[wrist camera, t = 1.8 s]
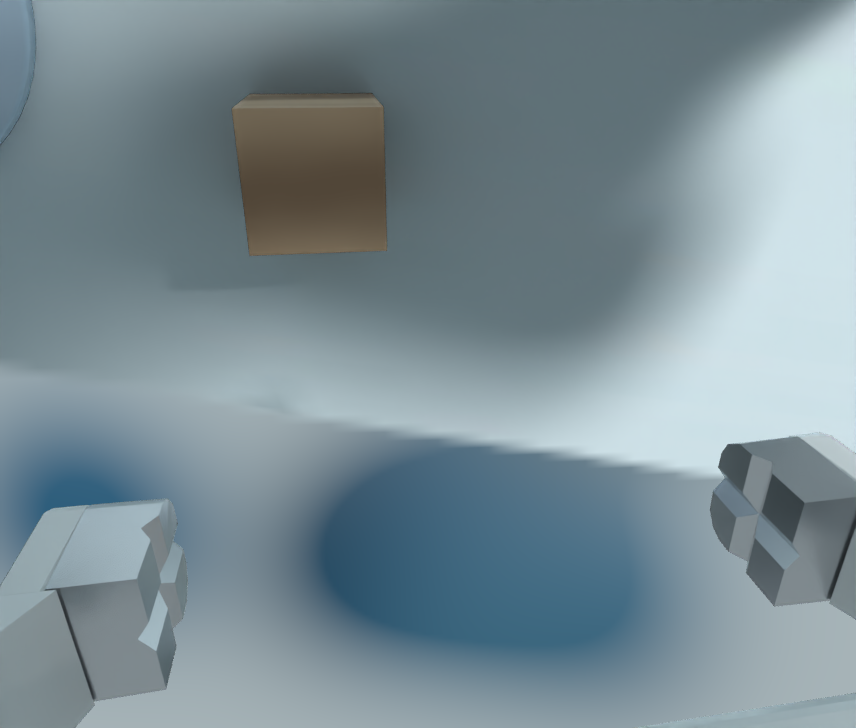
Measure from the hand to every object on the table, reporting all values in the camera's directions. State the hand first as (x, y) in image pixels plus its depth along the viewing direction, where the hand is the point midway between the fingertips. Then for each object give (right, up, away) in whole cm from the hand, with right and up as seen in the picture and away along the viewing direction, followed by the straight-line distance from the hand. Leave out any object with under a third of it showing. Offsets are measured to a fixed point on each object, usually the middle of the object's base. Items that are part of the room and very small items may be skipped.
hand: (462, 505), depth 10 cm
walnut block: (-5, +11, +19) cm, 22 cm away
